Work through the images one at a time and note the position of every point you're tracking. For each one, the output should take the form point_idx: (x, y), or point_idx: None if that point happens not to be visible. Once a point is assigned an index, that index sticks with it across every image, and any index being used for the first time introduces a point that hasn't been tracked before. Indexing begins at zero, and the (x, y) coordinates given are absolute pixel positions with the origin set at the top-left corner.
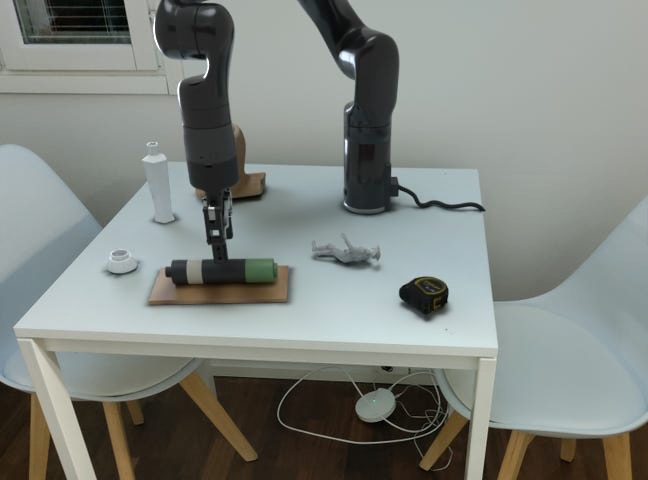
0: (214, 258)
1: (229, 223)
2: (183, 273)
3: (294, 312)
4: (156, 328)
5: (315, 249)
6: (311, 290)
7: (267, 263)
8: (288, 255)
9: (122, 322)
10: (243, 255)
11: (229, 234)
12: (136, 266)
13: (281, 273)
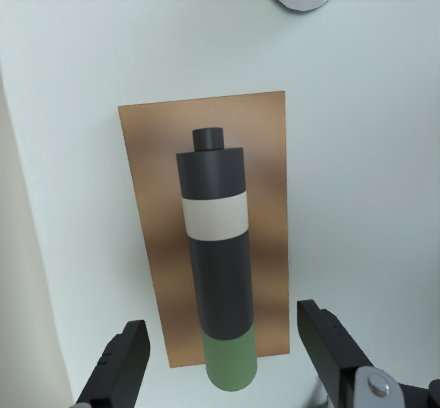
0: (123, 336)
1: (325, 384)
2: (181, 189)
3: None
4: (31, 154)
5: (330, 403)
6: (214, 386)
7: (221, 380)
8: None
9: (34, 62)
10: (348, 260)
11: (305, 337)
12: (300, 10)
13: (258, 348)
